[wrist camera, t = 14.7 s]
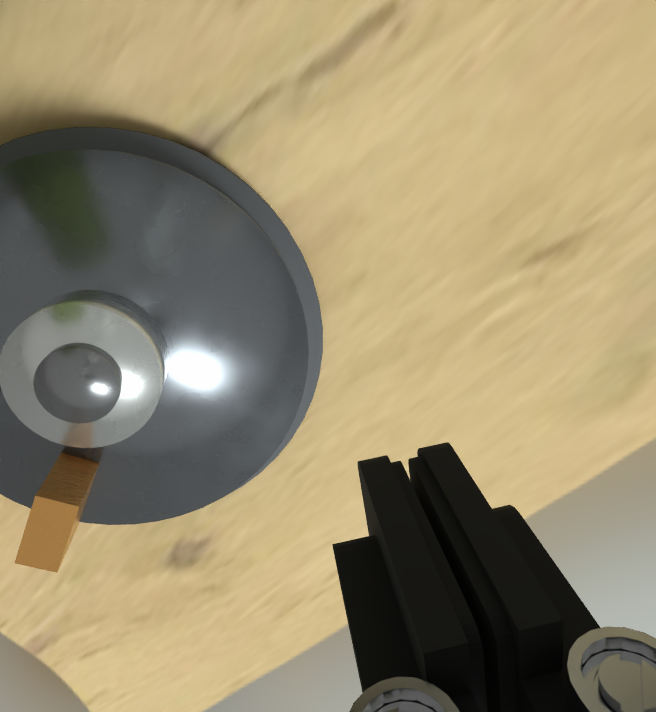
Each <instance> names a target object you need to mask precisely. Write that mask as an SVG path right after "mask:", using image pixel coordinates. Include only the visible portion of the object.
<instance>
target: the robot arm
mask: <svg viewBox="0 0 656 712" xmlns="http://www.w3.org/2000/svg"><path fill="white" fill-rule="evenodd" d="M417 454H418V457H415V458H411V459H409V472H410V479H409V477H408V475H407V473H406V471H405V469H404V466H403V464H402V462H401V461H397V462H392V463H391V462H390V460H389V458H388V456H387V455H386V456H381V457H377V458H372V459H367V460H363V461H358V470H359V477H360V483H361V489H362V495H363V501H364V507H365V513H366V519H367V525H368V532H369V536H368V537H364V538H359V539H355V540H350V541H346V542H341V543H337V544H333V550H334V555H335V560H336V565H337V570H338V575H339V580H340V585H341V590H342V595H343V600H344V605H345V610H346V615H347V620H348V624H349V629H350V634H351V639H352V643H353V648H354V653H355V658H356V663H357V667H358V672H359V678H360V682H361V687H362V692H363V693H362V694H361V695H360V697H359V698H358V699H357V700H356V701H355V702H354V703H353V706H352V708H351V710H350V712H656V638H654V637H652V636H650V635H648V634H646V633H644V632H640V631H636V630H633V629H629V628H625V627H603V628H600V626H599V625H598V624H597V622H596V621H595V619H594V618H593V617H592V615H591V614H590V612H589V611H588V610H587V608H586V607H585V605H584V604H583V602H582V601H581V600H580V598H579V597H578V595H577V594H576V592H575V591H574V590H573V588H572V587H571V585H570V584H569V583H568V581H567V580H566V578H565V577H564V575H563V574H562V573H561V571H560V570H559V568H558V567H557V566H556V564H555V563H554V561H553V560H552V558H551V557H550V556H549V554H548V553H547V551H546V550H545V549H544V547H543V546H542V544H541V543H540V541H539V540H538V539H537V537H536V536H535V534H534V533H533V532H532V530H531V529H530V527H529V526H528V525H527V523H526V522H525V520H524V519H523V517H522V516H521V515H520V513H519V512H518V511H517V510H516V509H515V507H513V506H511V505H507V506H503V507H498V508H494V509H492V508H491V507H490V505H489V504H488V502H487V501H486V499H485V498H484V496H483V494H482V493H481V491H480V490H479V488H478V487H477V485H476V483H475V482H474V480H473V479H472V477H471V476H470V474H469V473H468V471H467V469H466V468H465V466H464V465H463V463H462V462H461V460H460V459H459V457H458V455H457V454H456V452H455V451H454V449H453V448H452V446H451V445H450V444H449V443H442V444H438V445H433V446H428V447H423V448H419V449H418V453H417ZM410 481H411V482H410Z"/></svg>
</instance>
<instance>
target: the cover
mask: <svg viewBox="0 0 656 712" xmlns="http://www.w3.org/2000/svg"><path fill="white" fill-rule="evenodd" d="M168 368H169V353H168V347H167V343H166V340H165V337H164V335H163V333H162V331H161V329H160V328H159V326H158V325H157V323H156V322H155V320H154V319H153V318H152V317H151V316H150V315H149V314H148V313H147V312H146V311H145V310H144V309H143V308H142V307H140V306H139V305H137V304H136V303H135V302H133V301H131V300H129V299H127V298H125V297H123V296H120V295H118V294H115V293H111V292H107V291H101V290H79V291H74V292H69V293H66V294H63V295H61V296H58V297H56V298H54V299H53V300H51V301H49V302H48V303H47V304H45V305H44V306H43V307H41V308H40V309H39V310H37V311H36V312H35V313H34V314H32V315H31V316H30V317H28V318H27V319H26V320H25V321H23V322H22V323H21V324H20V325H19V326H18V327H17V328H16V329H15V330H14V331H13V332H12V333H11V335H10V336H9V337H8V339H7V341H6V343H5V345H4V346H3V349H2V352H1V355H0V386H1V389H2V393H3V395H4V398H5V400H6V402H7V404H8V405H9V407H10V408H11V410H12V411H13V413H14V414H15V415H16V416H17V418H18V419H19V420H20V421H21V422H22V423H23V424H24V425H26V426H27V427H28V428H29V429H31V430H32V431H33V432H35V433H37V434H38V435H40V436H42V437H43V438H46V439H48V440H50V441H52V442H55V443H58V444H62V445H66V446H71V447H79V448H95V447H103V446H107V445H111V444H114V443H117V442H120V441H122V440H124V439H126V438H128V437H130V436H131V435H133V434H134V433H136V432H137V431H138V430H139V429H140V428H141V427H143V426H144V425H145V423H146V422H147V421H148V420H149V419H150V417H151V415H152V414H153V412H154V411H155V408H156V406H157V404H158V401H159V398H160V395H161V392H162V389H163V386H164V383H165V380H166V377H167V373H168Z"/></svg>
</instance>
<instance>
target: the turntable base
mask: <svg viewBox="0 0 656 712" xmlns="http://www.w3.org/2000/svg"><path fill="white" fill-rule="evenodd" d="M68 150H107V151H120V152H127V153H131V154H136V155H141V156H146V157H150V158H154V159H157V160H159V161H162V162H165V163H168V164H171V165H174V166H177V167H179V168H181V169H183V170H185V171H187V172H189V173H191V174H193V175H196V176H198V177H200V178H202V179H204V180H205V181H207V182H208V183H210V184H211V185H213V186H214V187H216V188H217V189H219V190H220V191H222V192H223V193H225V194H226V195H228V196H229V197H230V198H231V199H232V200H234V201H235V202H236V203H237V204H238V205H239V206H241V207H242V208H243V209H244V210H245V211H246V212H248V214H249V215H250V216H251V217H252V218H253V219H254V220H255V221H256V222H257V224H258V225H259V226H260V227H261V228H262V229H263V230H264V231H265V232H266V234H267V235H268V237H269V238H270V240H271V241H272V242H273V244H274V245H275V247H276V248H277V250H278V251H279V253H280V254H281V256H282V258H283V260H284V262H285V264H286V266H287V268H288V270H289V272H290V274H291V276H292V278H293V281H294V284H295V287H296V289H297V292H298V295H299V298H300V301H301V303H302V307H303V312H304V317H305V321H306V326H307V335H308V349H309V355H308V370H307V378H306V383H305V388H304V392H303V397H302V400H301V403H300V405H299V408H298V411H297V414H296V417H295V419H294V421H293V423H292V425H291V427H290V429H289V430H288V432H287V434H286V436H285V438H284V439H283V441H282V442H281V444H280V445H279V446H278V448H277V449H276V451H275V452H274V454H273V455H272V456H271V457H270V458H269V459H268V460H267V462H266V463H265V464H264V465H263V466H262V467H261V468H260V469H259V470H258V471H257V472H256V473H255V474H254V475H253V476H251V477H250V478H249V479H248V480H247V481H245V482H244V483H243V484H242V485H241V486H239V487H238V488H240V487H242V486H243V485H245V484H246V483H247V482H249V481H250V480H251V479H253V478H254V477H255V476H257V475H258V474H259V473H261V472H262V471H263V470H264V469H265V468H266V467H267V466H268V465H269V464H270V463H271V462H272V461H273V460H274V459H275V458H276V457H277V456H278V455H279V454H280V453H281V451H282V450H283V449H284V448H285V446H286V445H287V444H288V443H289V441H290V440H291V439H292V437H293V436H294V434H295V432H296V431H297V429H298V427H299V426H300V424H301V422H302V421H303V419H304V417H305V415H306V412H307V410H308V408H309V406H310V403H311V401H312V399H313V396H314V392H315V389H316V385H317V382H318V378H319V373H320V366H321V359H322V349H323V327H322V320H321V312H320V305H319V300H318V297H317V293H316V289H315V286H314V282H313V278H312V276H311V274H310V271H309V269H308V267H307V264H306V262H305V260H304V257H303V255H302V253H301V251H300V249H299V248H298V246H297V244H296V243H295V241H294V239H293V237H292V236H291V234H290V232H289V231H288V229H287V227H286V226H285V225H284V224H283V222H282V221H281V220H280V218H279V217H278V216H277V215H276V213H275V212H274V211H273V209H272V208H271V207H270V206H269V205H268V204H267V203H266V202H265V201H264V200H263V199H262V198H261V197H260V196H259V195H258V194H257V193H256V192H255V191H254V190H253V189H252V188H251V187H250V186H249V185H248V184H246V183H245V182H244V181H243V180H241V179H240V178H239V177H237V176H236V175H235V174H233V173H232V172H231V171H230V170H228V169H227V168H225V167H224V166H222V165H220V164H219V163H217V162H215V161H213V160H212V159H210V158H208V157H207V156H205V155H203V154H201V153H199V152H197V151H195V150H192V149H190V148H188V147H185V146H183V145H181V144H178V143H176V142H174V141H170V140H167V139H163V138H160V137H156V136H153V135H149V134H146V133H141V132H135V131H128V130H121V129H114V128H99V127H74V128H66V129H58V130H50V131H43V132H40V133H36V134H32V135H29V136H25V137H21V138H18V139H14V140H12V141H10V142H7V143H5V144H3V145H0V166H1V165H4V164H7V163H10V162H13V161H16V160H18V159H21V158H24V157H28V156H33V155H39V154H44V153H49V152H54V151H68ZM238 488H236V489H238ZM236 489H235V490H236ZM235 490H233V491H235ZM233 491H232V492H233ZM230 493H231V492H230ZM230 493H229V494H230ZM227 495H228V494H227ZM222 498H223V497H222Z"/></svg>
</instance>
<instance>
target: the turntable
mask: <svg viewBox="0 0 656 712" xmlns="http://www.w3.org/2000/svg"><path fill="white" fill-rule="evenodd" d="M79 290H101V291H107V292H111V293H115V294H118V295H120V296H123V297H125V298H127V299H129V300H131V301H133V302H135V303H136V304H137V305H139V306H140V307H142V308H143V309H144V310H145V311H146V312H147V313H148V314H149V315H150V316H151V317H152V318H153V319H154V320H155V322H156V323H157V325H158V326H159V328H160V329H161V331H162V333H163V335H164V337H165V340H166V343H167V347H168V353H169V368H168V373H167V377H166V380H165V383H164V386H163V389H162V392H161V395H160V398H159V401H158V404H157V406H156V408H155V411H154V412H153V414H152V415H151V417H150V419H149V420H148V421H147V422H146V423H145V425H144V426H143V427H141V428H140V429H139V430H138V431H137V432H136V433H134V434H133V435H131V436H130V437H128V438H126V439H124V440H122V441H120V442H117V443H114V444H111V445H107V446H103V447H95V448H79V447H71V446H66V445H62V444H58V443H55V442H52V441H50V440H48V439H46V438H43V437H42V436H40V435H38V434H37V433H35V432H33V431H32V430H31V429H29V428H28V427H27V426H26V425H24V424H23V423H22V422H21V421H20V420H19V419H18V418H17V416H16V415H15V414H14V413H13V411H12V410H11V408H10V407H9V405H8V404H7V402H6V400H5V398H4V395H3V393H2V389H1V386H0V494H2V495H3V496H5V497H7V498H9V499H11V500H12V501H15V502H17V503H19V504H22V505H24V506H27V507H29V508H31V511H30V515H29V518H28V521H27V524H26V528H25V531H24V534H23V537H22V541H21V544H20V547H19V550H18V554H17V557H16V560H15V563H16V564H21V565H25V566H30V567H35V568H39V569H44V570H48V571H53V572H58V570H59V567H60V565H61V563H62V561H63V558H64V556H65V554H66V552H67V549H68V547H69V545H70V543H71V540H72V538H73V536H74V534H75V531H76V529H77V527H78V524H79V522H84V523H95V524H107V525H120V524H139V523H147V522H155V521H160V520H164V519H169V518H173V517H177V516H181V515H183V514H186V513H189V512H192V511H195V510H197V509H200V508H203V507H205V506H207V505H209V504H211V503H213V502H215V501H217V500H219V499H221V498H222V497H224V496H226V495H227V494H229V493H230V492H232V491H233V490H235V489H236V488H238V487H239V486H241V485H242V484H243V483H244V482H245V481H247V480H248V479H249V478H250V477H251V476H253V475H254V474H255V473H256V472H257V471H258V470H259V469H260V468H261V467H262V466H263V465H264V464H265V463H266V462H267V460H268V459H269V458H270V457H271V456H272V455H273V454H274V452H275V451H276V449H277V448H278V446H279V445H280V444H281V442H282V441H283V439H284V438H285V436H286V434H287V432H288V430H289V429H290V427H291V425H292V423H293V421H294V419H295V417H296V414H297V411H298V408H299V405H300V403H301V400H302V397H303V392H304V388H305V383H306V378H307V370H308V355H309V349H308V335H307V326H306V321H305V317H304V312H303V307H302V303H301V301H300V298H299V295H298V292H297V289H296V287H295V284H294V281H293V278H292V276H291V274H290V272H289V270H288V268H287V266H286V264H285V262H284V260H283V258H282V256H281V254H280V253H279V251H278V250H277V248H276V247H275V245H274V244H273V242H272V241H271V240H270V238H269V237H268V235H267V234H266V232H265V231H264V230H263V229H262V228H261V227H260V226H259V225H258V224H257V222H256V221H255V220H254V219H253V218H252V217H251V216H250V215H249V214H248V212H246V211H245V210H244V209H243V208H242V207H241V206H239V205H238V204H237V203H236V202H235V201H234V200H232V199H231V198H230V197H229V196H228V195H226V194H225V193H223V192H222V191H220V190H219V189H217V188H216V187H214V186H213V185H211V184H210V183H208V182H207V181H205V180H204V179H202V178H200V177H198V176H196V175H193V174H191V173H189V172H187V171H185V170H183V169H181V168H179V167H177V166H174V165H171V164H168V163H165V162H162V161H159V160H157V159H154V158H150V157H146V156H141V155H136V154H131V153H127V152H120V151H107V150H68V151H54V152H49V153H44V154H39V155H33V156H28V157H24V158H21V159H18V160H16V161H13V162H10V163H7V164H4V165H1V166H0V355H1V352H2V349H3V346H4V345H5V343H6V341H7V339H8V337H9V336H10V335H11V333H12V332H13V331H14V330H15V329H16V328H17V327H18V326H19V325H20V324H21V323H22V322H23V321H25V320H26V319H27V318H28V317H30V316H31V315H32V314H34V313H35V312H36V311H37V310H39V309H40V308H41V307H43V306H44V305H45V304H47V303H48V302H49V301H51V300H53V299H54V298H56V297H58V296H61V295H63V294H66V293H69V292H74V291H79Z"/></svg>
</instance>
